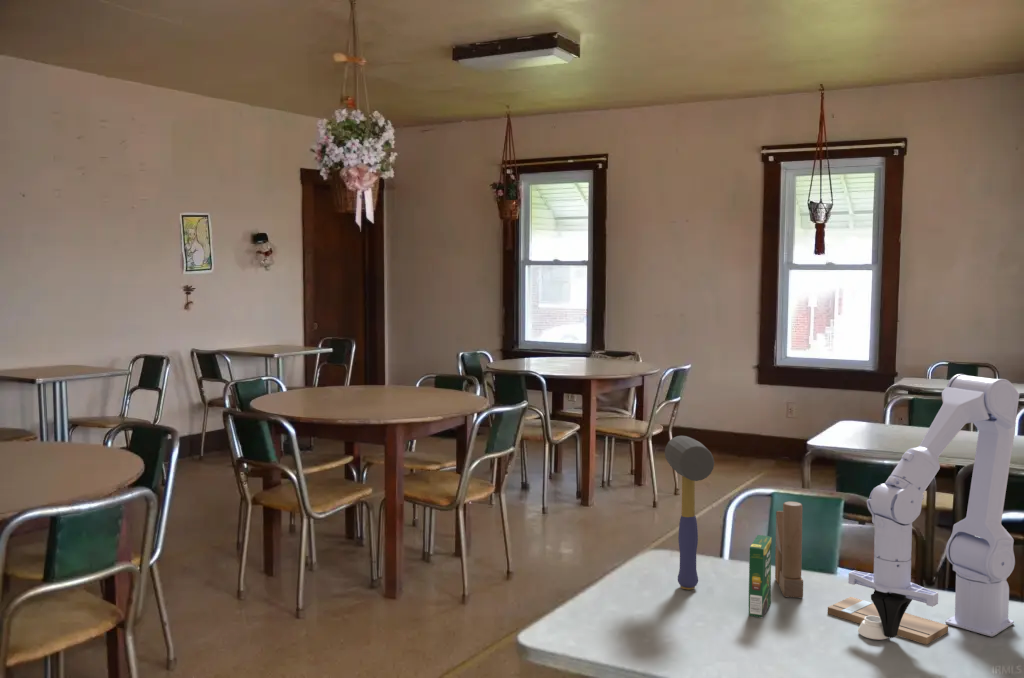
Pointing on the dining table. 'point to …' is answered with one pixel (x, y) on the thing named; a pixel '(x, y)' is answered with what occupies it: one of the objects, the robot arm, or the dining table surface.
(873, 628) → the lidless jar
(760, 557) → the coffee box
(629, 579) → the dining table surface
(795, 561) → the wooden block
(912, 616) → the board
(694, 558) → the rubber mallet
